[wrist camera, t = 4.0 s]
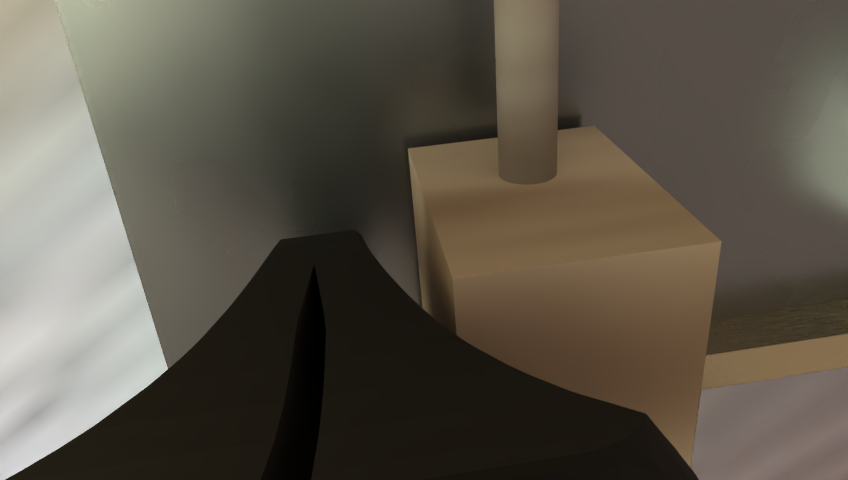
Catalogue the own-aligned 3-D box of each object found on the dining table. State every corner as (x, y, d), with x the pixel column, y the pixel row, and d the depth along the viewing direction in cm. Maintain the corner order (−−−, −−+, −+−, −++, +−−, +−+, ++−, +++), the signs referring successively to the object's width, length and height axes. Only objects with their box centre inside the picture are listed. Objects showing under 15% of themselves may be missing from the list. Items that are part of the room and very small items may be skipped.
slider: (586, 313, 13) (688, 477, 10) (425, 337, 13) (468, 514, 9) (613, -365, 8) (828, -530, 5) (362, -350, 8) (399, -512, 5)
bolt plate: (1081, 281, 16) (1183, 336, 15) (203, 414, 15) (187, 496, 13) (1444, -580, 10) (1718, -687, 8) (-69, -524, 8) (-186, -645, 6)
